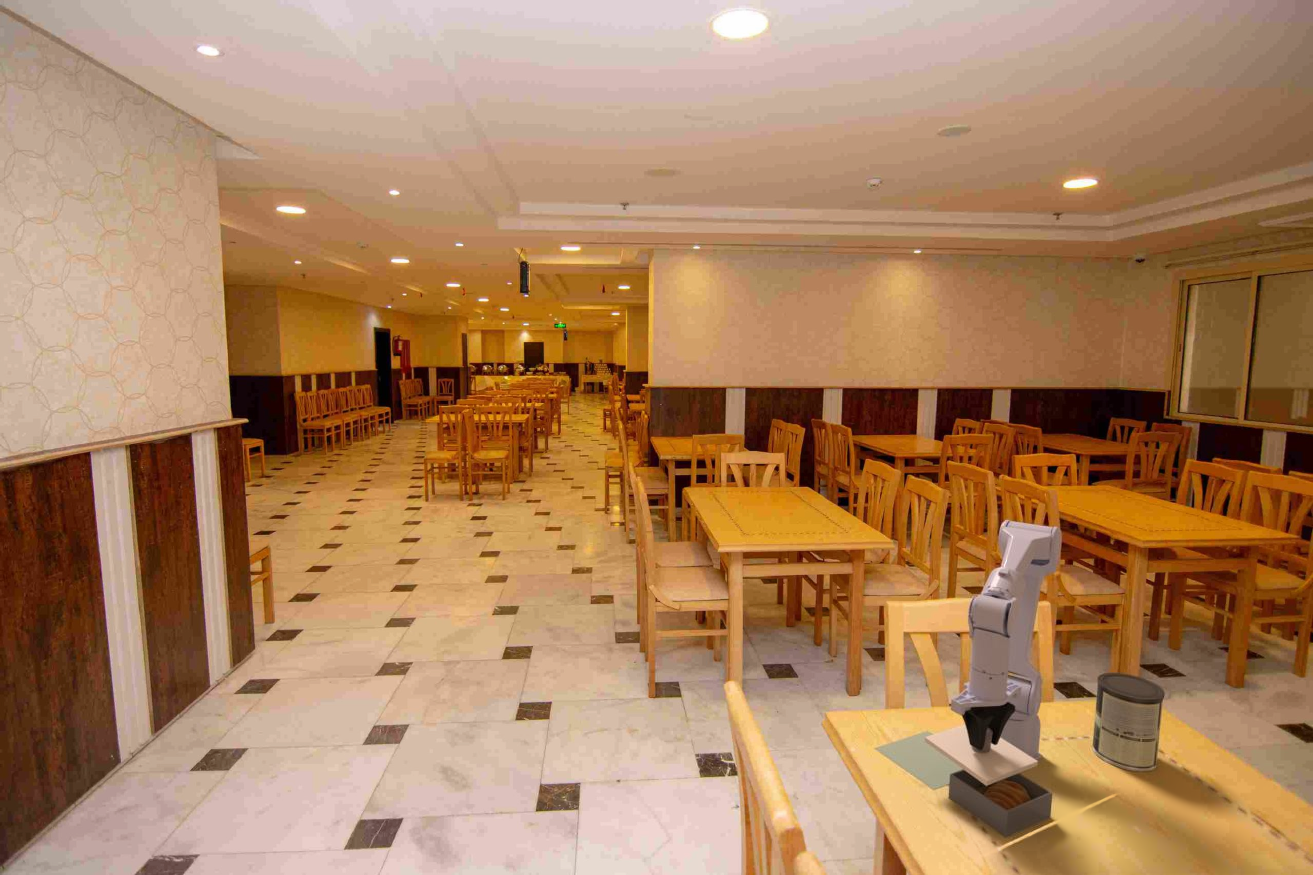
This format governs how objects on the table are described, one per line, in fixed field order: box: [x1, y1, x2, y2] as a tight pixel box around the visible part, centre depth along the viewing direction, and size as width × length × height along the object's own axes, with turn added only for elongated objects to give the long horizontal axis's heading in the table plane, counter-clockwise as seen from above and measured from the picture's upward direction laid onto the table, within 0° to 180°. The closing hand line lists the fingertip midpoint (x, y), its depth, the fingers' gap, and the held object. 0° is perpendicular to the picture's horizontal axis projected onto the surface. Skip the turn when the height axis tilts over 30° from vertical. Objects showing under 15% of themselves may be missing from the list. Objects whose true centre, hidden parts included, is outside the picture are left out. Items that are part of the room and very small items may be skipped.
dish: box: [948, 769, 1053, 838], centre depth 114 cm, size 11×11×5 cm
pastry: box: [983, 780, 1031, 810], centre depth 114 cm, size 9×7×4 cm
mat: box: [874, 730, 963, 791], centre depth 128 cm, size 14×14×1 cm
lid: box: [925, 723, 1039, 787], centre depth 117 cm, size 12×12×4 cm
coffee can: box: [1091, 672, 1166, 773], centre depth 129 cm, size 10×10×14 cm
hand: (983, 744), depth 116 cm, fingers closed on lid, 3 cm apart
